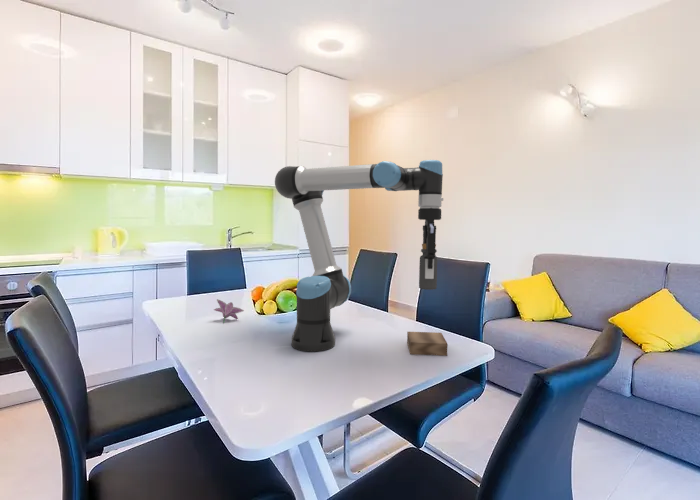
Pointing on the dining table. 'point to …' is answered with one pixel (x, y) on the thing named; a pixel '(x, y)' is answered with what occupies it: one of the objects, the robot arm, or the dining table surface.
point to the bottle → (424, 283)
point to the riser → (426, 343)
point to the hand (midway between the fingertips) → (428, 276)
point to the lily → (228, 309)
